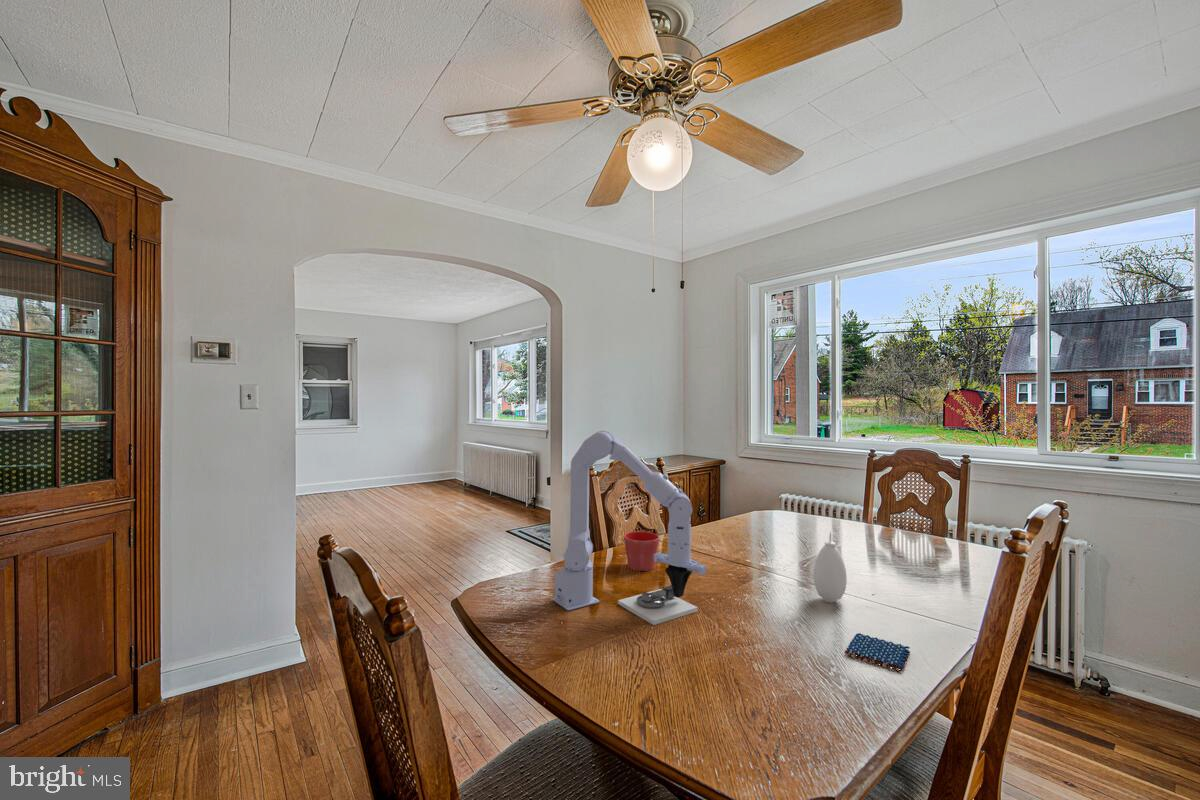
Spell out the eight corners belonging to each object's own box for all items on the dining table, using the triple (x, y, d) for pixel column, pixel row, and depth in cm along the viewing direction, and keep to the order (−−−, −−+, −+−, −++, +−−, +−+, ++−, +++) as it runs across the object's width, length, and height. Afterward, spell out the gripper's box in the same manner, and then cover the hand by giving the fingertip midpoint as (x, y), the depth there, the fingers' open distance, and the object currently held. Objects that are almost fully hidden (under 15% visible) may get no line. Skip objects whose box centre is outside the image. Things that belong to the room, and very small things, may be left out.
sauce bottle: (850, 608, 126) (850, 537, 126) (816, 606, 128) (817, 535, 128) (841, 596, 134) (842, 529, 134) (810, 594, 135) (811, 527, 135)
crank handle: (648, 610, 121) (648, 600, 121) (631, 600, 127) (631, 591, 127) (683, 600, 127) (683, 590, 127) (665, 591, 133) (665, 582, 133)
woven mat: (854, 639, 111) (854, 630, 111) (910, 655, 105) (910, 645, 105) (842, 658, 103) (842, 648, 103) (902, 676, 97) (902, 666, 97)
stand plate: (653, 625, 116) (653, 620, 116) (618, 604, 128) (618, 599, 128) (697, 611, 124) (697, 606, 124) (660, 592, 136) (660, 588, 136)
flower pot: (647, 575, 149) (647, 542, 149) (616, 567, 155) (617, 536, 155) (665, 566, 157) (665, 535, 157) (635, 559, 164) (636, 529, 164)
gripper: (712, 544, 125) (712, 599, 125) (665, 533, 135) (664, 584, 135) (697, 551, 120) (696, 608, 120) (649, 538, 130) (648, 591, 130)
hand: (678, 596), depth 127 cm, fingers closed
